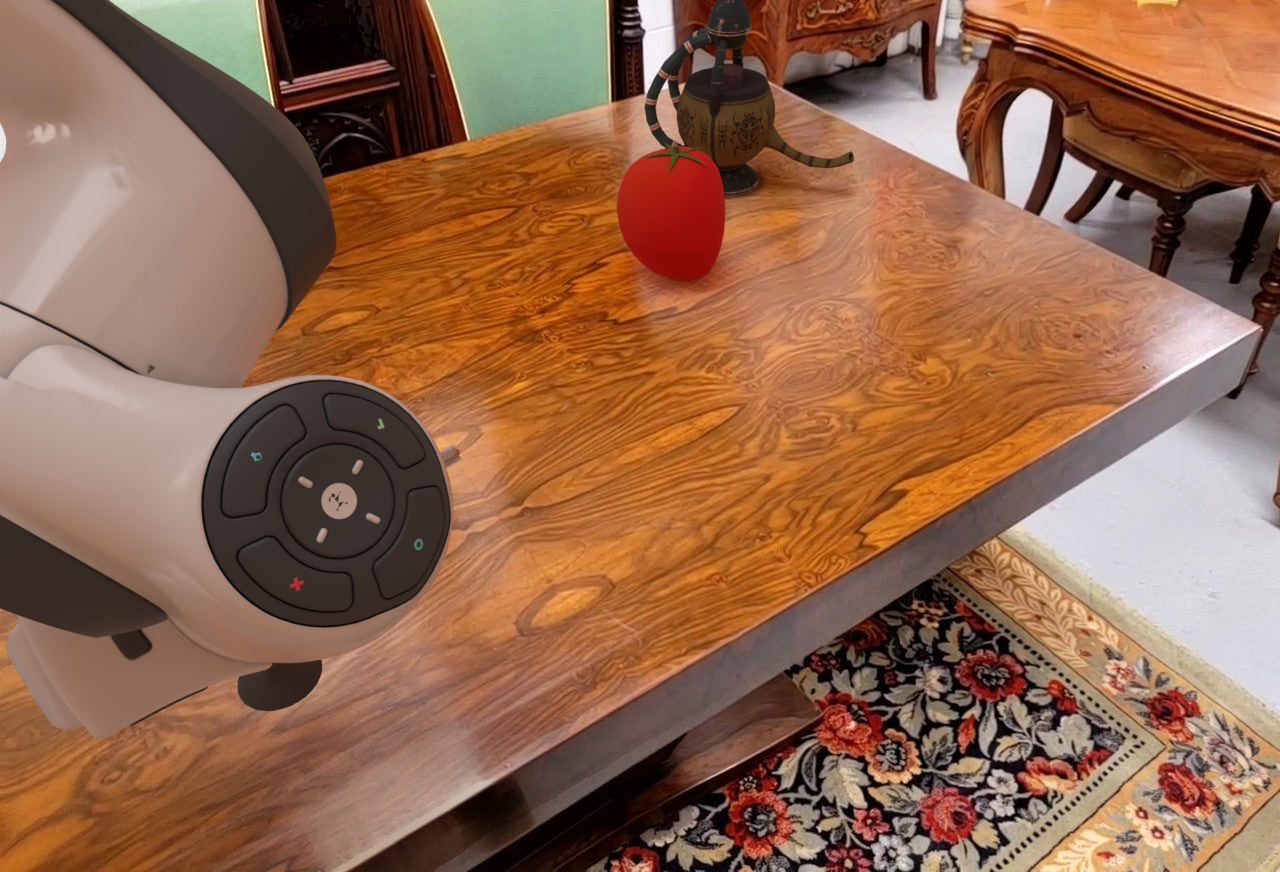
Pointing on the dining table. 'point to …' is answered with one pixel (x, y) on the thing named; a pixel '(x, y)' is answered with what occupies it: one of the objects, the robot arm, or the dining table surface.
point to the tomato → (673, 212)
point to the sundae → (279, 685)
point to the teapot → (725, 103)
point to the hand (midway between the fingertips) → (234, 579)
